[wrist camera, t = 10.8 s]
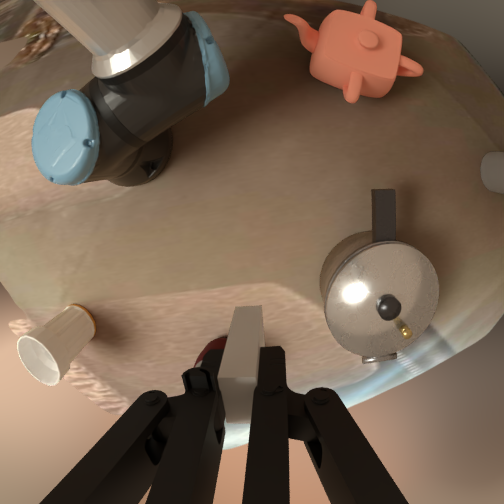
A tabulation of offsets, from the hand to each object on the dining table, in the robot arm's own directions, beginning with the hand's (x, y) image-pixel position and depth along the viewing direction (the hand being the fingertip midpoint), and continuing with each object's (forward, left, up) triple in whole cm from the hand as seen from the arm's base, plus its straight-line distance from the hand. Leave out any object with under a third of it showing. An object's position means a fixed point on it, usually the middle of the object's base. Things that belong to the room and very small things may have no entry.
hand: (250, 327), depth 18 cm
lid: (+13, +18, -26) cm, 34 cm away
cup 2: (-8, +48, -37) cm, 61 cm away
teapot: (-27, +16, -37) cm, 48 cm away
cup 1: (+19, -43, -37) cm, 60 cm away
